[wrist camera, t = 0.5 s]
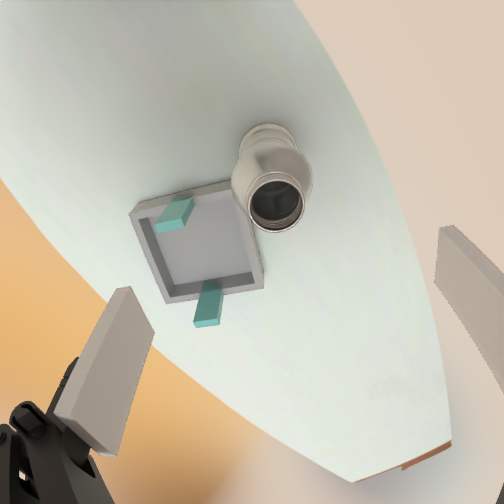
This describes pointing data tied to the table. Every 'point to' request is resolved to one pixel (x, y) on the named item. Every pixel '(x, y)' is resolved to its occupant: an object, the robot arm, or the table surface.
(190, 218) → the tray
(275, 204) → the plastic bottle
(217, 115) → the table surface
